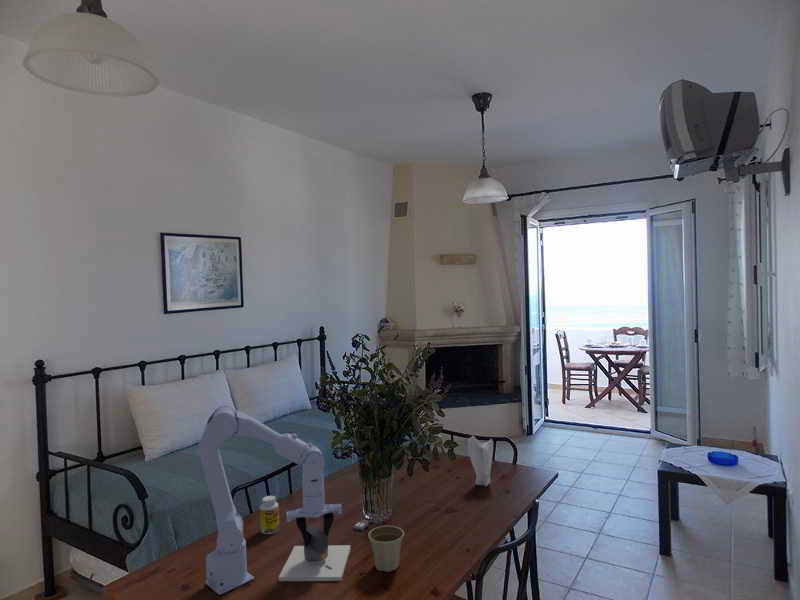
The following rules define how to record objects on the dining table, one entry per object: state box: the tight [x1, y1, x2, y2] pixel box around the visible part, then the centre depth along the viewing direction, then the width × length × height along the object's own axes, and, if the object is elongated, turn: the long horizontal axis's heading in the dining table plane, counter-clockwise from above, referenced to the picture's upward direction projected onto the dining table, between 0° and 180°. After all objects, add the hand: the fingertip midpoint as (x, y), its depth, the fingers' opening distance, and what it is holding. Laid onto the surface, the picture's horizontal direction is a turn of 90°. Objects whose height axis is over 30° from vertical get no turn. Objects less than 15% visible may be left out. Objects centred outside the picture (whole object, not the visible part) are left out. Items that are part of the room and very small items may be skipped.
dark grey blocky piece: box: [303, 524, 329, 562], centre depth 137 cm, size 8×6×6 cm
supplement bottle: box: [259, 495, 280, 535], centre depth 158 cm, size 6×6×10 cm
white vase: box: [467, 435, 494, 487], centre depth 189 cm, size 8×8×18 cm
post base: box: [278, 544, 352, 582], centre depth 138 cm, size 16×16×2 cm
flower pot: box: [367, 525, 405, 572], centre depth 135 cm, size 9×9×9 cm
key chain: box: [352, 519, 370, 531], centre depth 162 cm, size 13×4×2 cm, turn 157°
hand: (315, 543), depth 138 cm, fingers closed on dark grey blocky piece, 4 cm apart
